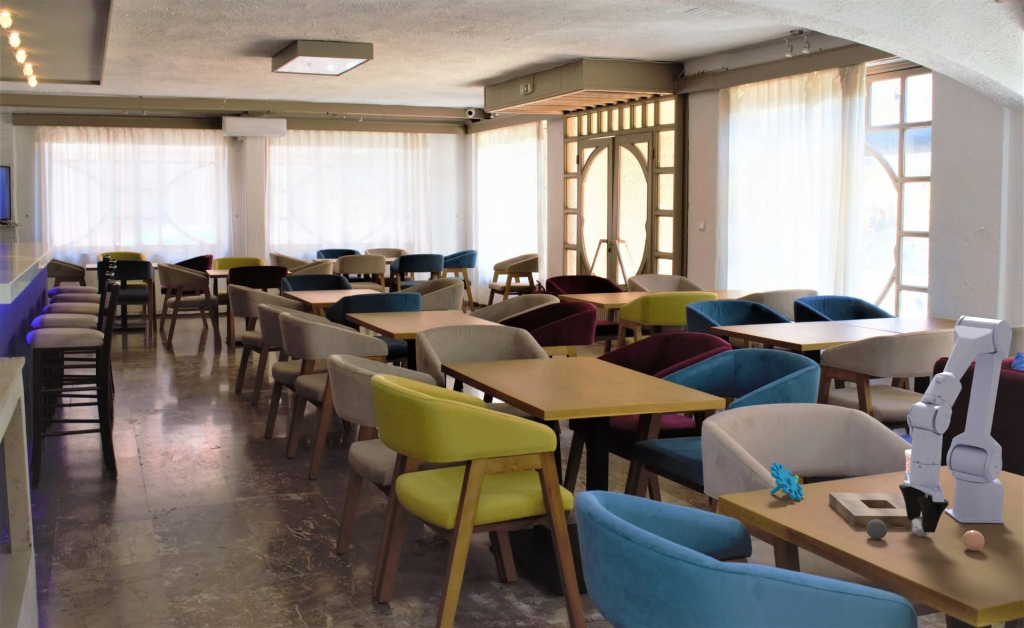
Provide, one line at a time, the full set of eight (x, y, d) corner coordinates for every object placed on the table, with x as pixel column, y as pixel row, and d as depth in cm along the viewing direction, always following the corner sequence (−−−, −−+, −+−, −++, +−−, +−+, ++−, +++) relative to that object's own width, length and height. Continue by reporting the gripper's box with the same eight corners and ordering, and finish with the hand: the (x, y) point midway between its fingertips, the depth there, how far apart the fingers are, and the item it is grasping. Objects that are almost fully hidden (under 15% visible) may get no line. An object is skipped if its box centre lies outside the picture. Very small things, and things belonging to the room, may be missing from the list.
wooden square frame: (898, 504, 224) (899, 493, 224) (929, 527, 208) (930, 516, 208) (828, 503, 224) (829, 492, 224) (854, 527, 208) (854, 515, 208)
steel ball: (926, 532, 205) (927, 514, 205) (934, 539, 201) (935, 520, 201) (906, 532, 205) (908, 513, 205) (914, 539, 201) (916, 520, 201)
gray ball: (881, 535, 203) (883, 516, 203) (889, 542, 199) (890, 523, 199) (862, 535, 203) (863, 516, 203) (869, 542, 199) (871, 522, 199)
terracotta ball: (977, 546, 197) (979, 527, 197) (987, 553, 193) (989, 534, 193) (958, 546, 197) (959, 527, 197) (967, 553, 193) (968, 534, 193)
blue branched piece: (793, 498, 221) (767, 461, 226) (773, 513, 224) (749, 476, 229) (814, 495, 230) (789, 459, 234) (795, 508, 233) (771, 473, 237)
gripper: (892, 451, 208) (887, 513, 210) (921, 470, 194) (916, 537, 196) (925, 452, 208) (920, 514, 210) (956, 471, 194) (951, 537, 196)
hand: (921, 525), depth 203 cm, fingers open, 7 cm apart
